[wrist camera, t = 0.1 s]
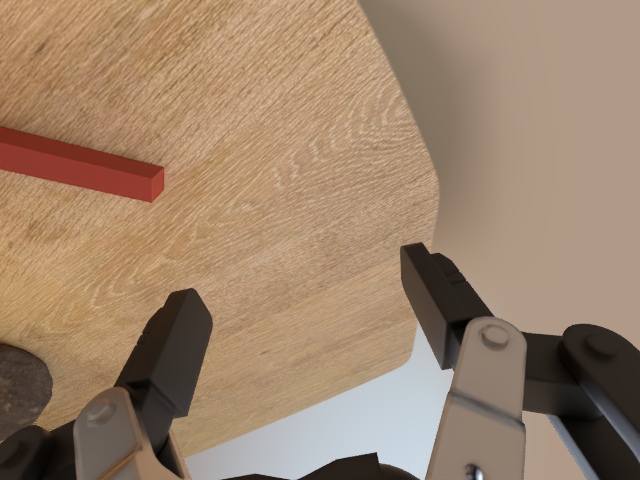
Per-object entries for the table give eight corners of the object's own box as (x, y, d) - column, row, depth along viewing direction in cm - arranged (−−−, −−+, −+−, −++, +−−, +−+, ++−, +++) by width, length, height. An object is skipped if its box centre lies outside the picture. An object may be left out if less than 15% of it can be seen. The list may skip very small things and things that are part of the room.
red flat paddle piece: (165, 143, 23) (152, 152, 21) (163, 210, 26) (151, 224, 24) (-148, 59, 19) (-205, 60, 16) (-103, 152, 22) (-146, 163, 20)
